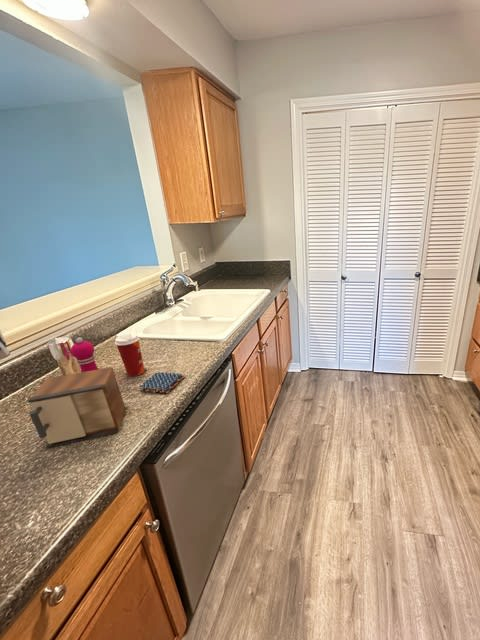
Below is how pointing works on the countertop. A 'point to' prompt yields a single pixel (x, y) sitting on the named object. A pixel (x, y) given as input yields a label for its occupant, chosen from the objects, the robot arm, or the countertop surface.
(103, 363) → the countertop surface
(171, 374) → the woven mat
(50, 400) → the sliding door
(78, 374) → the cabinet
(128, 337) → the paper cup
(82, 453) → the countertop surface
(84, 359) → the pepper mill
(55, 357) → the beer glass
